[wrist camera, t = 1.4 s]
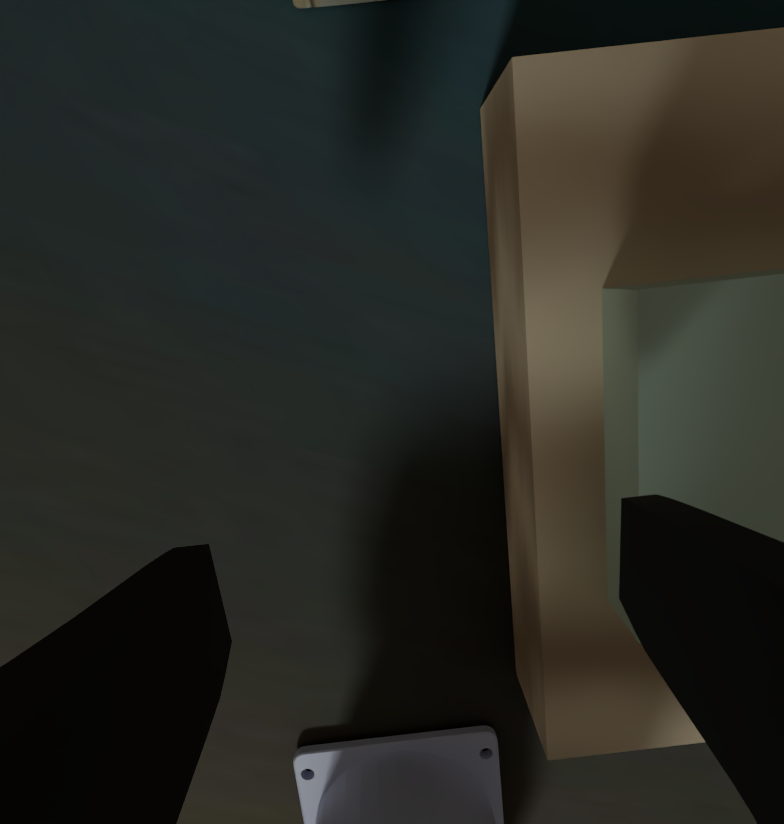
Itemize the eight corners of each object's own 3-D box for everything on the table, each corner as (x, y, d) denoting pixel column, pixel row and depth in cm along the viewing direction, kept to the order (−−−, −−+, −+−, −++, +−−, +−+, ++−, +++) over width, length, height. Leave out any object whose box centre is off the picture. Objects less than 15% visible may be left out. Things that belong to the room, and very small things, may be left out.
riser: (822, 638, 21) (921, 716, 18) (516, 673, 21) (547, 760, 18) (871, 65, 17) (1021, 1, 13) (480, 109, 17) (512, 56, 13)
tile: (809, 577, 16) (867, 617, 14) (607, 599, 16) (639, 643, 14) (833, 262, 14) (906, 260, 12) (601, 288, 14) (637, 289, 12)
